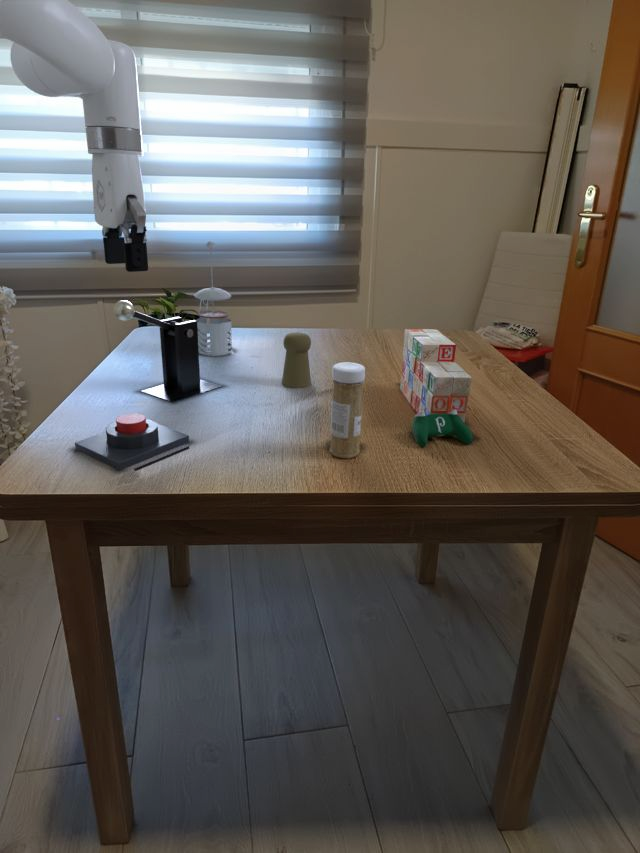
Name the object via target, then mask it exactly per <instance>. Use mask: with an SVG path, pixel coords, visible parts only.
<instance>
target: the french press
mask: <svg viewBox="0 0 640 853" xmlns="http://www.w3.org/2000/svg"><path fill="white" fill-rule="evenodd" d="M206 248H210V250H209V251H210V275H211V276H210V278H211V281H210V282H211V286H210V287H207V288H202V289H200V290H198V291H197V292H195V293H194V294H193V296H194V298H195V299H198V300H200V302H199V311H198V312H197V313H196V315H197V316H198V317H199V318H197V319H196V320H195V321H197V327H198V348H199V355H202V356H212V357H213V356H214V357H215V356H225V355H229V354H230V355H233V356H234V355H235V356H236V355H237V354H236V353H235V351H233V342H232V341H233V340H232V339H233V338H232V319H231V318H228V317H229V316H230V312H228V311H227V310H218V309H215V307H214V301H225V300H229V299H231V298H232V295H231V293H229V292H228V291H227V290H224V289H223V288H220V287H219V288H218V287H214V283H213V282H214V281H213V278H214V277H213V251H212V248H216V244H215V242H214V241H207V243H206ZM205 301H206V303H205ZM202 304H203V305H204V306H205V309H206V310H202V308H201V306H202ZM211 304H212V310H211V309H208V306H209V305H211ZM208 335H209V336H208Z"/></svg>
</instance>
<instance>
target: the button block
mask: <svg viewBox="0 0 640 853" xmlns="http://www.w3.org/2000/svg"><path fill="white" fill-rule="evenodd" d="M146 426H147V429H146V430H145V431H142V432H139V433H133V434H124V433H119V432H117V424H116V421H114V422H111V423H110V424H109V425H107V426H106V427H105V432H102V433H99V434H96V435H93V436H90V437H87V438H83V439H82V440H79V441H76V442H74V448H75V451H77V452H79V453H81V454H83V455H85V456H87V457H89V458H92V459H93V460H96V461H98V462H100V463H102V464H105V465H106V466H109V467H111V468H113V469H115V470H117V471H118V472H119V471H123V470H125V469H127V468H130V467H132V466H135V465H138V464H140V463H142V462H145V461H147V460H149V459H152V458H154V457H157V456H159V455H162V454H164V453H167V452H170V451H172V450H174V449H177V448H179V447H181V446H184V445H186V444H189V443H190V436H189V435H188V434H186V433H183V432H181V431H178V430H176V429H173V428H170V427H168V426H165V425H163V424H160V423H158V422H156V421H154V420H151V419H149V418H146ZM187 450H190V445H187V446H186V447H182V448H181V449H178V450H176V451H174V452H171V453H168V454H166V455H164V456H161V457H159V458H157V459H154V460H151V461H149V462H147V463H144V464H142V465H139V466H137V467H134V468H133V470H134V472H137V471H140V470H142V469H145V468H147V467H149V466H151V465H154V464H156V463H159V462H161V461H163V460H166V459H168V458H171V457H173V456H175V455H178V454H180V453H183V452H185V451H187Z"/></svg>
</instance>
